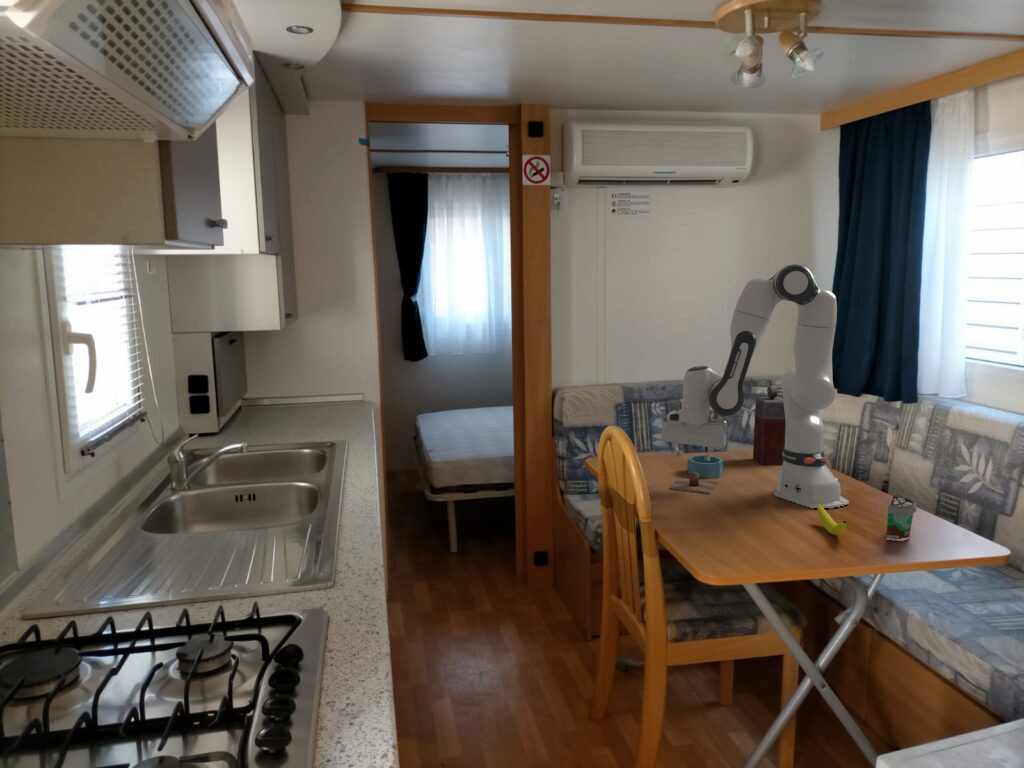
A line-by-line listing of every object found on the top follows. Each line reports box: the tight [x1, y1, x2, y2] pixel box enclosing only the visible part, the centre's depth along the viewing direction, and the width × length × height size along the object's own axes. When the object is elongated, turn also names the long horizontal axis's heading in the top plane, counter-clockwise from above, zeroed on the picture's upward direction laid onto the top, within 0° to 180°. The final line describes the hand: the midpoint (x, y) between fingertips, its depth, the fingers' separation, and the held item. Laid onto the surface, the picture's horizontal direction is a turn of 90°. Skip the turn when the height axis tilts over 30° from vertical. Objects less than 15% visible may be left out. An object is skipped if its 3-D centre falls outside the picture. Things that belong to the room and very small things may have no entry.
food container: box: [885, 493, 917, 539], centre depth 199 cm, size 12×6×10 cm, turn 148°
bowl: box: [686, 454, 724, 479], centre depth 259 cm, size 11×11×5 cm
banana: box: [817, 503, 847, 536], centre depth 203 cm, size 3×19×6 cm, turn 178°
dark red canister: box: [752, 385, 786, 466], centre depth 272 cm, size 9×11×28 cm
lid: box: [669, 472, 719, 495], centre depth 245 cm, size 13×13×5 cm
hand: (692, 458), depth 244 cm, fingers open, 8 cm apart
